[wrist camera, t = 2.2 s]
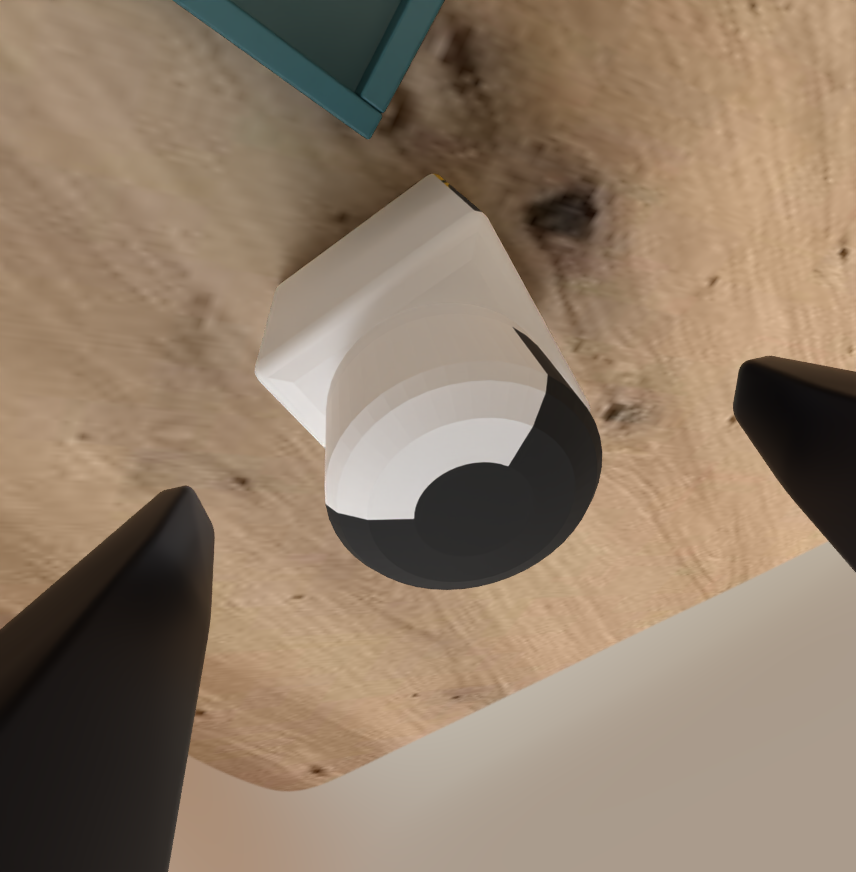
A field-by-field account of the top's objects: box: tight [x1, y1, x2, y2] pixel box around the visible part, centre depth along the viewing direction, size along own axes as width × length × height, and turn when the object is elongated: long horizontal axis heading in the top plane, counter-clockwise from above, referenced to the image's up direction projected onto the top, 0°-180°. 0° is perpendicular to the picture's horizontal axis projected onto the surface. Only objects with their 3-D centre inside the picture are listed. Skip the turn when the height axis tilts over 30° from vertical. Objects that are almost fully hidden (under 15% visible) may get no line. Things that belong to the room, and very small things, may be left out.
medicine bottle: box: [255, 173, 602, 590], centre depth 16 cm, size 7×7×12 cm
